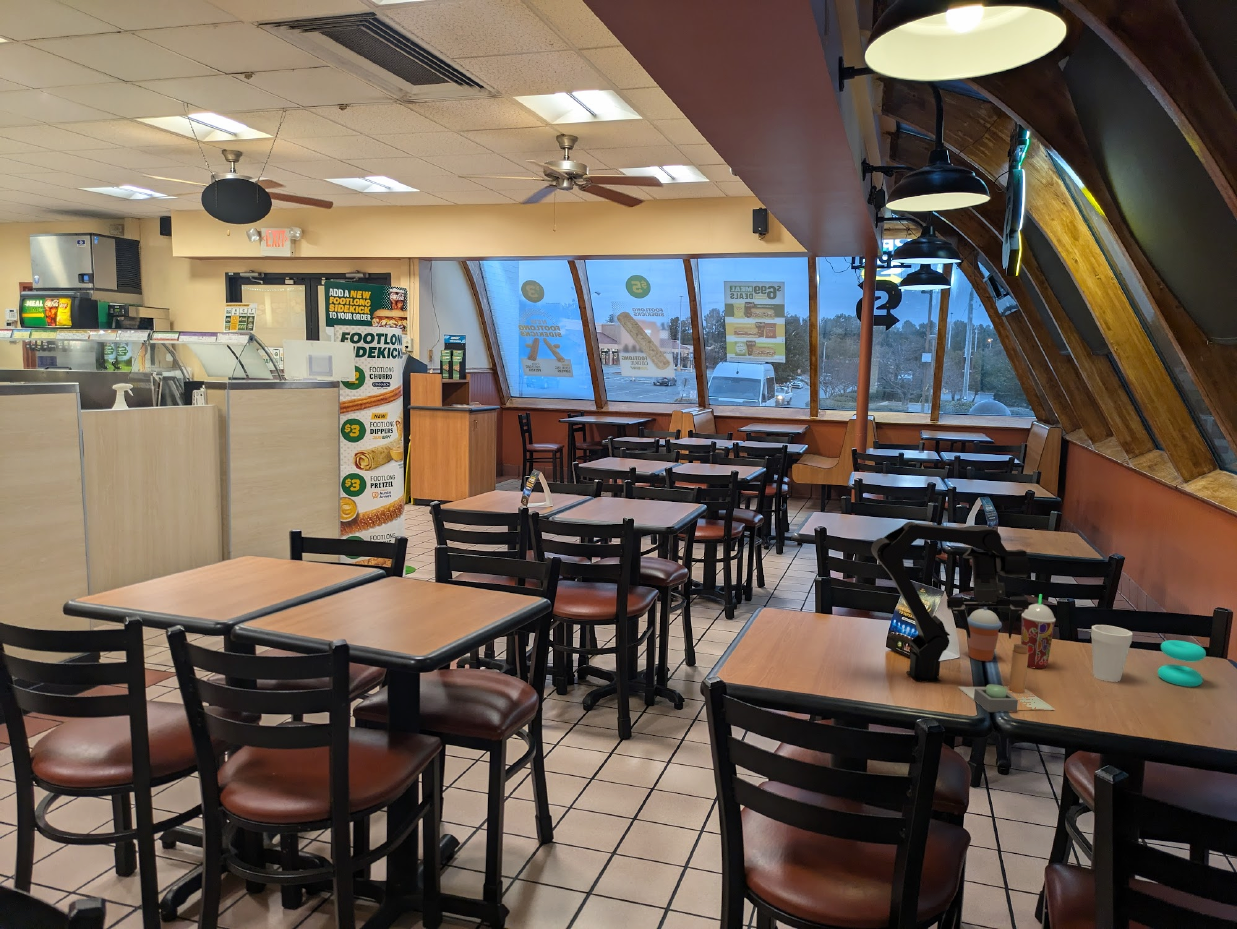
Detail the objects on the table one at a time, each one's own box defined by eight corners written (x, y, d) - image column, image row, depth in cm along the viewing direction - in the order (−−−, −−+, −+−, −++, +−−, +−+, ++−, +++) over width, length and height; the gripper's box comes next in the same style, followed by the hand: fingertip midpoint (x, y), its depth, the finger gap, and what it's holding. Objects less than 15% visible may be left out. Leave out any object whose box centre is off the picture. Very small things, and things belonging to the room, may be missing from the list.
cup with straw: (995, 665, 233) (1001, 601, 231) (960, 658, 238) (966, 595, 236) (1000, 656, 241) (1006, 594, 239) (966, 649, 246) (972, 588, 244)
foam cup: (1082, 677, 227) (1087, 629, 225) (1091, 668, 233) (1096, 622, 232) (1122, 687, 220) (1127, 638, 219) (1131, 678, 227) (1136, 631, 226)
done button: (991, 703, 201) (992, 691, 201) (982, 696, 206) (983, 684, 205) (1009, 703, 202) (1010, 691, 201) (999, 696, 206) (1000, 684, 206)
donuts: (1165, 636, 232) (1209, 645, 226) (1161, 671, 233) (1205, 681, 227) (1157, 644, 225) (1202, 653, 218) (1153, 680, 226) (1198, 691, 219)
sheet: (988, 712, 200) (989, 699, 200) (957, 687, 216) (958, 675, 215) (1057, 712, 202) (1058, 700, 201) (1021, 687, 217) (1022, 676, 217)
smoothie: (1054, 672, 230) (1061, 599, 227) (1021, 668, 231) (1028, 596, 229) (1045, 661, 238) (1052, 591, 235) (1013, 658, 239) (1020, 589, 237)
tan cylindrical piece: (1013, 693, 212) (1018, 648, 210) (1005, 687, 215) (1010, 643, 214) (1027, 693, 212) (1032, 648, 211) (1019, 687, 216) (1023, 643, 214)
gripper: (943, 572, 213) (947, 636, 209) (1026, 570, 206) (1032, 636, 202) (946, 577, 223) (950, 638, 219) (1025, 576, 216) (1030, 639, 212)
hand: (989, 638), depth 213 cm, fingers open, 9 cm apart
